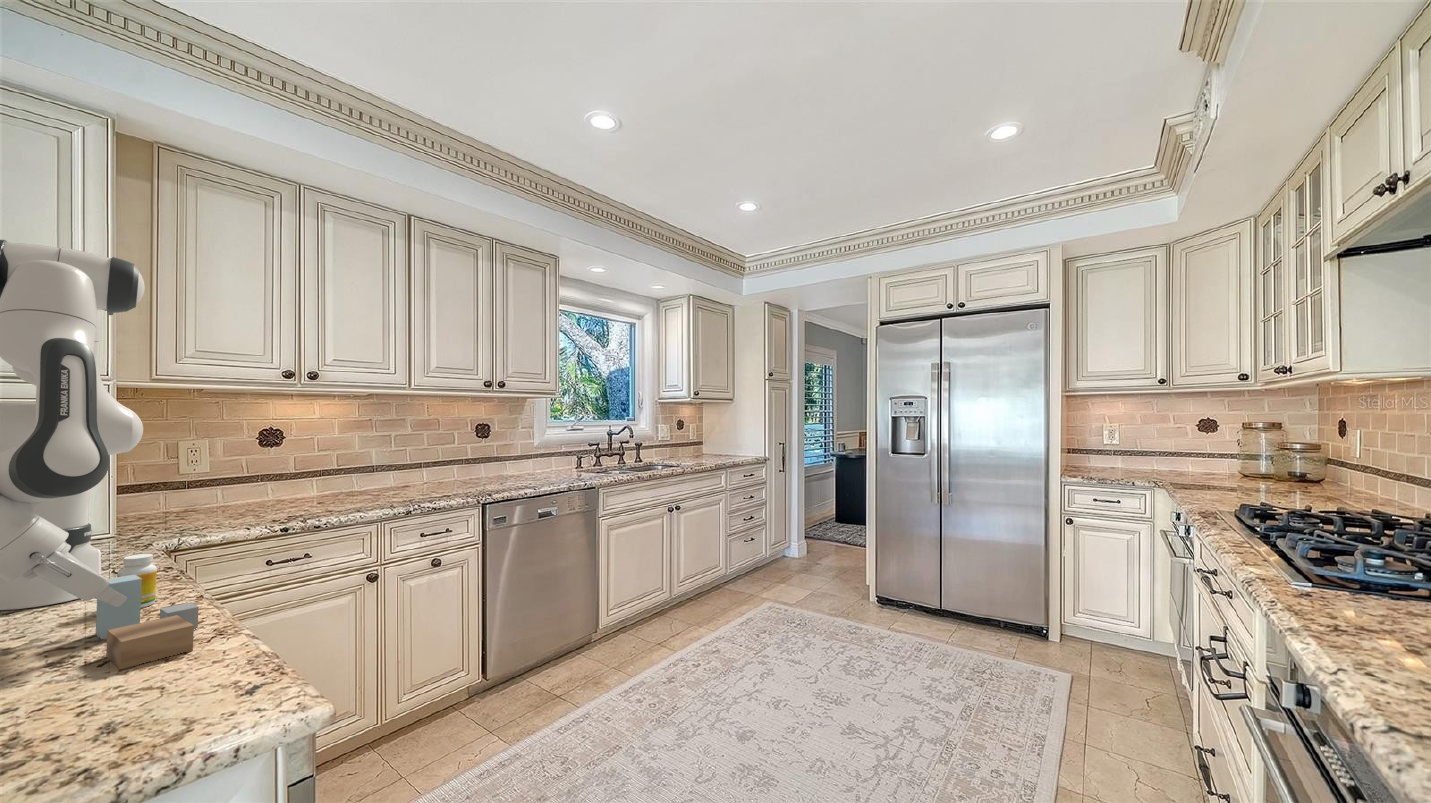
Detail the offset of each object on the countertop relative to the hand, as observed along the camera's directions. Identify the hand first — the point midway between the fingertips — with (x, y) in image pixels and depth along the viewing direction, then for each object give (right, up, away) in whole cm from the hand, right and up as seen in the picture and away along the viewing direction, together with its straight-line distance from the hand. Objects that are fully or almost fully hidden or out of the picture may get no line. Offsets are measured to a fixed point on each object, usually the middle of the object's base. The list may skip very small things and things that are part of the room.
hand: (114, 597), depth 95 cm
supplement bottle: (-10, -7, +14) cm, 18 cm away
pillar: (0, -6, 0) cm, 6 cm away
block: (+9, -6, +2) cm, 11 cm away
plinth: (+14, -6, -8) cm, 17 cm away
